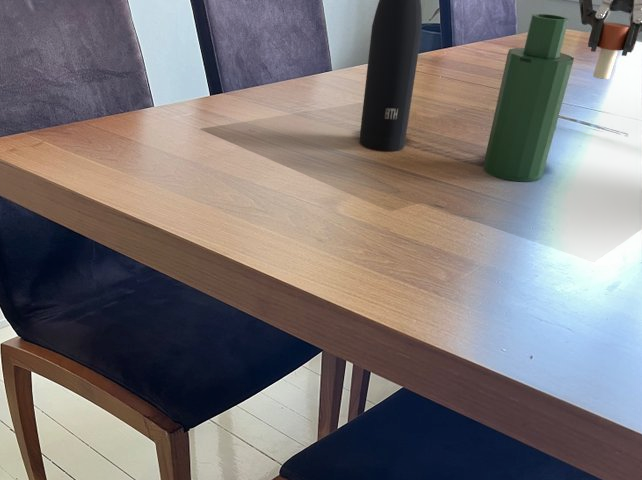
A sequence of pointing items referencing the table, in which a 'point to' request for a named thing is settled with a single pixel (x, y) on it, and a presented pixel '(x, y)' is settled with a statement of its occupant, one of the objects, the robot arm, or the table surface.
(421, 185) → the table surface
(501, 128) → the green bottle
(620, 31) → the stopper
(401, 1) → the black tall cylinder
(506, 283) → the table surface
